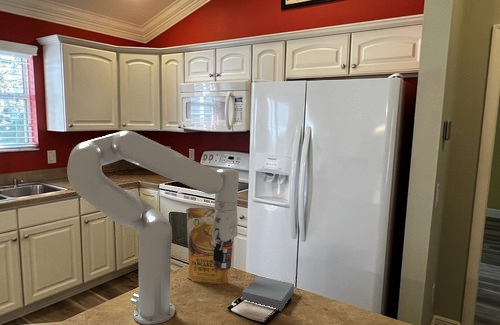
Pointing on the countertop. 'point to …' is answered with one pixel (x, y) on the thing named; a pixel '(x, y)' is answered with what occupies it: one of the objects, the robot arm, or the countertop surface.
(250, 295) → the slate riser block
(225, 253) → the supplement bottle
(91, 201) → the robot arm
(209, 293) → the countertop surface
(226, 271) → the pancake mix bag
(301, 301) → the countertop surface
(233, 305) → the countertop surface
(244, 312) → the countertop surface
